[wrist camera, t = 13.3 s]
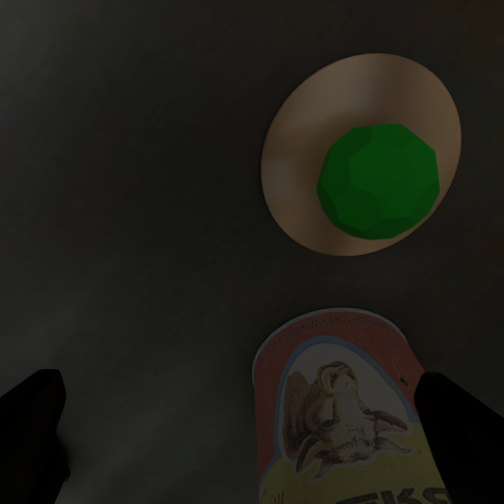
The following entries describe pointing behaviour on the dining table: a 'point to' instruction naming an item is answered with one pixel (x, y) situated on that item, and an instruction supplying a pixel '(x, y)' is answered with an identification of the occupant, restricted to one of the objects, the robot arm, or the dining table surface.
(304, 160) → the coaster
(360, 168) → the polyhedron
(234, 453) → the dining table surface
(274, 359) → the canned food
